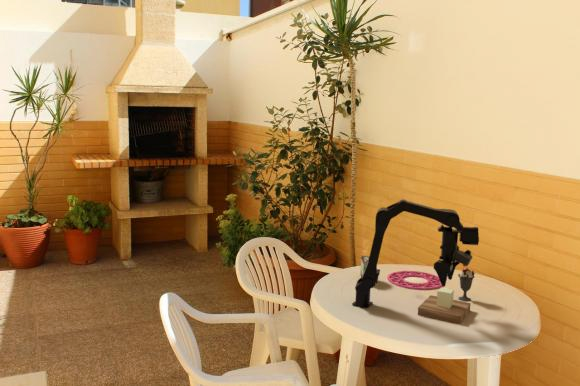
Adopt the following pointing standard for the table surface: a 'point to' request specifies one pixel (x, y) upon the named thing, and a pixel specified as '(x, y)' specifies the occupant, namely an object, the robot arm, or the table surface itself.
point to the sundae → (466, 282)
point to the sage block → (445, 297)
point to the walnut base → (444, 310)
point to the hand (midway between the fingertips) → (446, 282)
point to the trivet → (414, 285)
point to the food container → (363, 263)
